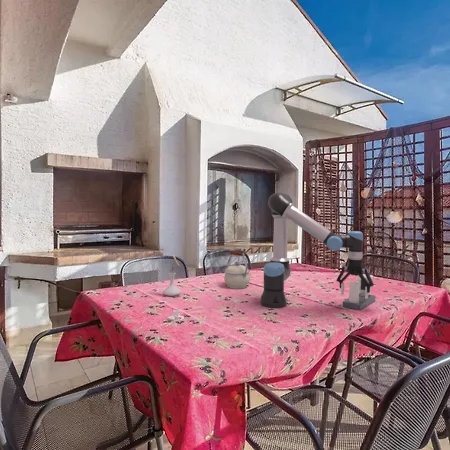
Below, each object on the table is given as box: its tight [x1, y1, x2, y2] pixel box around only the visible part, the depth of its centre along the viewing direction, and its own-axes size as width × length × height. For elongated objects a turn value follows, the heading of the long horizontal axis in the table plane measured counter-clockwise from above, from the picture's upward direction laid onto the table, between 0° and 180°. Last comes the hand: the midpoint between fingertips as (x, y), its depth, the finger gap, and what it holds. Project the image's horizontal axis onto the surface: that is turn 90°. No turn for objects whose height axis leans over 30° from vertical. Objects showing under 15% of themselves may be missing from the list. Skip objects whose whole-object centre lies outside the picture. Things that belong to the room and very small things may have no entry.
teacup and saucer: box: [167, 309, 185, 322], centre depth 168 cm, size 9×8×4 cm
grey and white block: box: [342, 277, 376, 311], centre depth 197 cm, size 10×26×14 cm, turn 139°
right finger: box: [348, 281, 359, 304], centre depth 190 cm, size 5×4×13 cm
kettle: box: [223, 250, 251, 290], centre depth 239 cm, size 25×18×25 cm
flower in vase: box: [162, 254, 182, 297], centre depth 214 cm, size 13×11×25 cm
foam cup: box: [356, 273, 374, 295], centre depth 215 cm, size 10×9×13 cm
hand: (354, 296), depth 190 cm, fingers open, 13 cm apart
